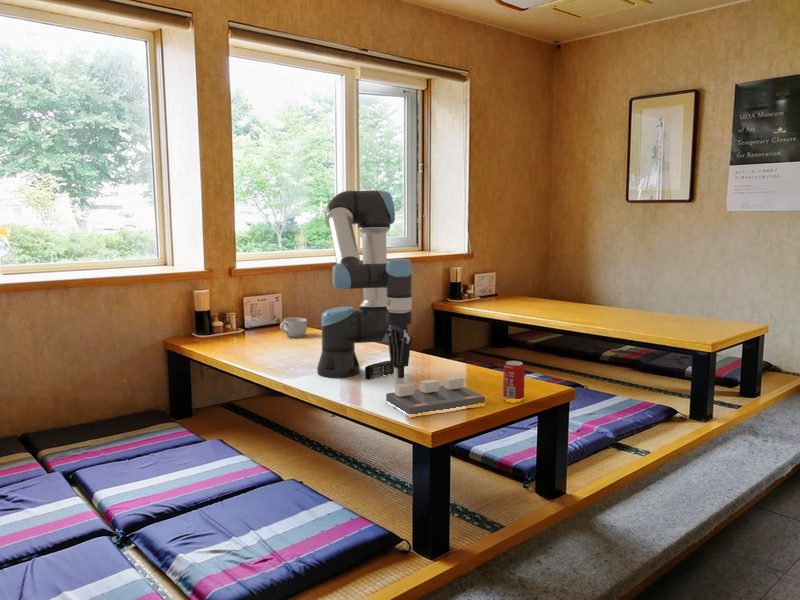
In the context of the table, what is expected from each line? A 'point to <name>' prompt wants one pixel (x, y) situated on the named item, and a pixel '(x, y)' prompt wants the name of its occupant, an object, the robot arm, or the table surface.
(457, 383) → the tab
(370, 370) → the mobile phone
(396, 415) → the table surface
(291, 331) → the teacup
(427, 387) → the tab
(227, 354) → the table surface
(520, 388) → the beverage can
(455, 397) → the switch plate
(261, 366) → the table surface
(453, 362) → the table surface
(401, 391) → the tab
